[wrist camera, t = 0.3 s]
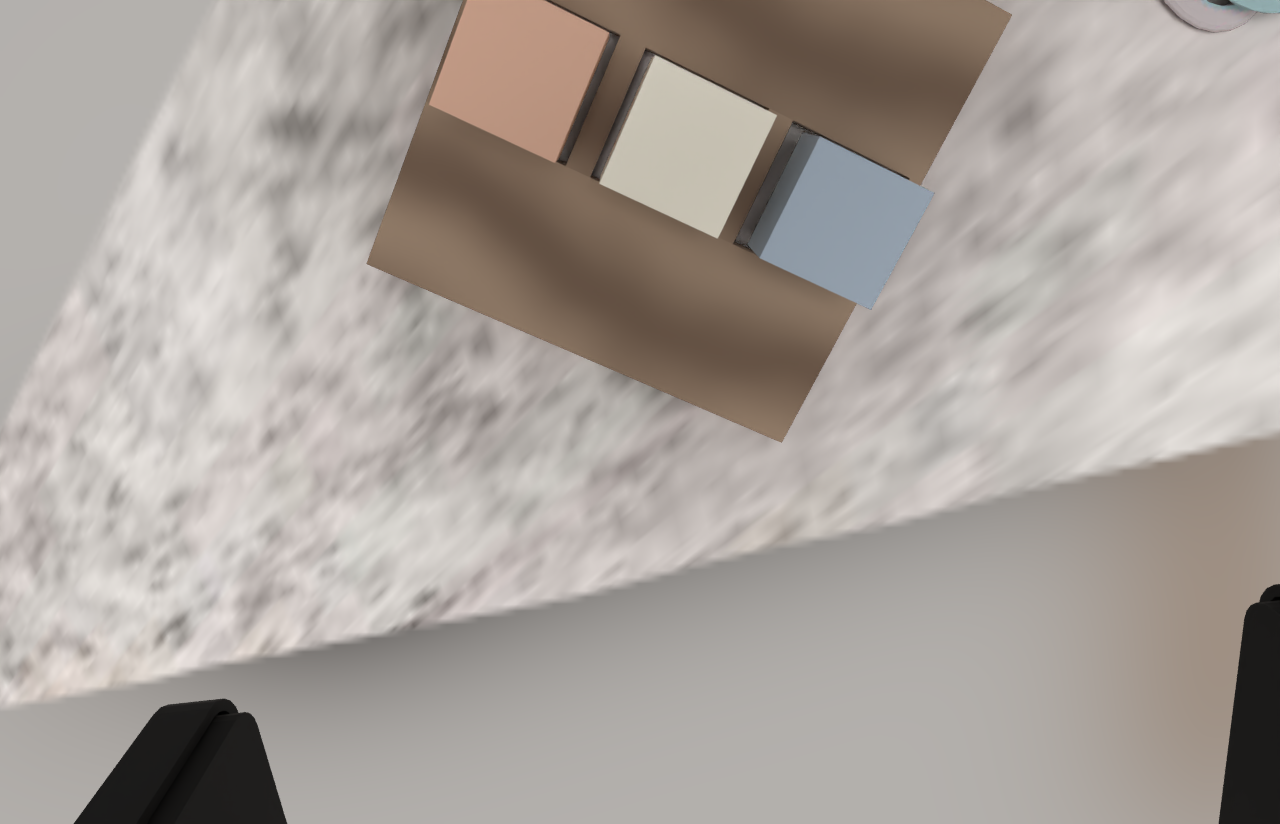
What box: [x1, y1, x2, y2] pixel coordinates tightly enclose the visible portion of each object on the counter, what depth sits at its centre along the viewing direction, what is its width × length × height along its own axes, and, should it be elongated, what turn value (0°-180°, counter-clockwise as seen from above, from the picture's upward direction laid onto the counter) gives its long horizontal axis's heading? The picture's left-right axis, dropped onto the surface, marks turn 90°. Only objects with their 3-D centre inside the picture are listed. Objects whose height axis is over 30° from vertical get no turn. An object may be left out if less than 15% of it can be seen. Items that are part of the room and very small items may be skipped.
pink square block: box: [429, 0, 609, 163], centre depth 31 cm, size 4×4×3 cm
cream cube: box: [599, 55, 777, 239], centre depth 32 cm, size 4×4×3 cm
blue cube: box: [747, 133, 934, 310], centre depth 33 cm, size 4×4×3 cm
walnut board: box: [367, 0, 1012, 443], centre depth 35 cm, size 18×18×1 cm
